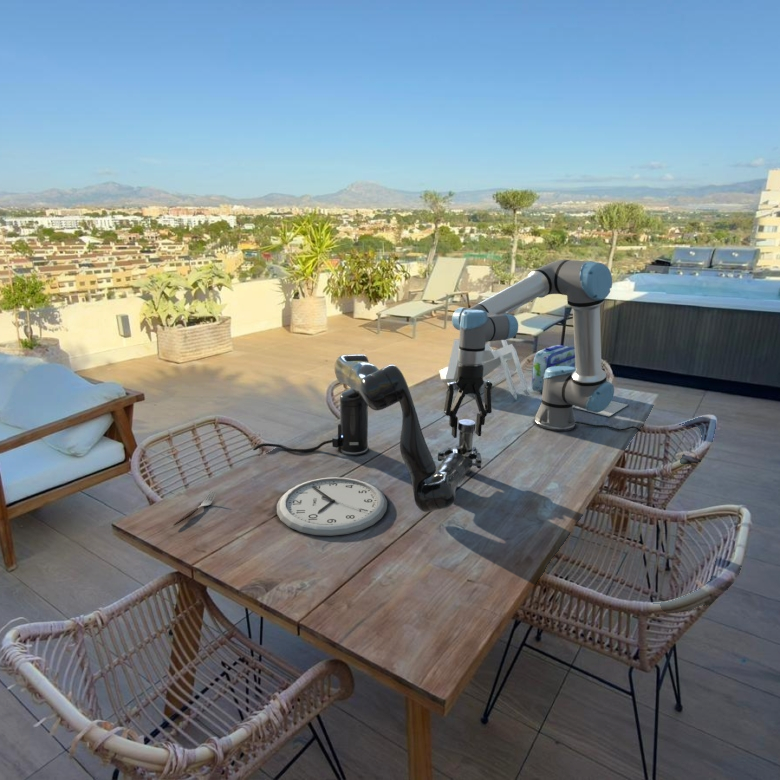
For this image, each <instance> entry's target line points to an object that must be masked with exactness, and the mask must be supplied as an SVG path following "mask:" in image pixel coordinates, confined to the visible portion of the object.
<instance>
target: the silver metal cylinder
mask: <svg viewBox="0 0 780 780" xmlns="http://www.w3.org/2000/svg"><path fill="white" fill-rule="evenodd" d="M473 440H474V431H473V432H462V431H460V430H459V435H458V445H459V450H458V453H459V454H465V453H467V452H471V450H472V449H473V442H474V441H473ZM471 469H472V467H471V468H469V469H468V471H467V473H466V475H467V474H468V475H469V474H471Z"/></svg>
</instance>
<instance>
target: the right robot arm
mask: <svg viewBox="0 0 780 780" xmlns="http://www.w3.org/2000/svg"><path fill="white" fill-rule="evenodd" d="M612 287H613V274H612V272H611V270H610V268H609V267H608V266H607V265H606V264H604V263H602V262H598V261H597V262H596V261H593V260H574V259H559V260H556V261H552V262H550V263H547V264H545V265H543V266H540V267H538V268H536V269H534V270H533V271H531V272H529V273H528V275H527V277H525V278H523V279H522V280H519V281H517V282H516V283H515V284H512V285H511V286H509V287H507V288H505V289H503V290H501V291H499V292H498V293H496V294H494V295H492V296H490V297H487V298H486V299H484V300H482V301H480V302H479V303H477V304H475V305H472V306H470V307H469V308H468V307H465V306H464V307H458V308H456V310H454V312H453V314H452V316H451V323H452V327H453V328H454V329H455V330H457V331H459V357H458V361H459V362H460V363H459V364H458V373H457V379H456V382H452V383H450V382H447V385H446V388H447V391H446V395H445V402H444V407H443V413H444V414H445V415H446V417H449V420H448V421H449V422H448V425H449V426H450V427H451V436H452V437H453V438H454V439H457V438H458V423H459V419H458V416H457V415H458V411H459V409H460V407H461V404H462V403H463V400H464V398H465V397H466V395H469V394H471V395H473V397H474V399H475V403H476V406H477V409H478V412H479V413H478V412H477V413H476V421H475V424H476V425H475V435H477V436H478V437H481V436H482V426H484V425H485V424H486V423H485V422H486V417H487V415H488V414H492V412H493V411H492V387H493V382H491V381H490V380H488V379H487V380H484V377H483V368H484V365H483V363H484V354H485V344H487V343H488V342H494V341H495V342H496V341H501V340H509V339H512V338H514V337H516V336H517V334H518V332H519V321H518V319H517V317H516V316H514V315H513V314H510V313H511V312H513V311H515V310H517V309H519V308H521V307H522V306H524V305H526V304H528V303H530V302H532V301H534V300H535V299H537V298H539V299H540V298H541V299H542V298H545V297H547V296H549V295H562V296H566V299H567V306H568V307H570V308H571V309H572V323H573V324H572V325H573V340H574V341H573V342H574V344H573V345H574V348H575V367H570V366H555V367H549V368H547V369H546V370H545V375H544V378H543V379H544V380H543V391H542V392H541V402H540V405H539V407H538V410H537V411H536V413H535V417H534V424H535V425H536V426H537V427H539V428H542V429H544V430H549V431H556V432H567V431H572V430H574V429H575V428H576V424H578V425H584V426H589V427H595V428H607V429H611V430H614V431H619V432H622V431H628V430H631V429H632V430H633V429H636V430H637V431H641V429H640V428H639V427H637V426H634V425H632V426H628V427H624V428H617V427H614V426H611V425H607V424H593V423H588V422H582V421H576V418H575V417H576V416H575V413H574V407H576V406H577V407H580V408H583V409H586V410H587V411H586V412H588V411H592V412H601V411H603V410H604V409H605V408H606V407H607V406H608V405H609V404H610V402H611V401H613V398H614V396H615V386H614V384H613V383H611V381H608V379H607V377H608V376H607V372H606V371H605V370H604V369H602V368H603V367H602V364H603V363H602V335H601V334H602V331H601V306H602V305H603V304H604V303H605V299H606V298H608V296H609V294H610V293H611V289H612ZM456 387H457V388H458V390H457V392H456V397H455V398H454V393H455V390H456ZM482 387H483V395H484V396H483V397H484V403H483V399H482V396H481V391H480V389H481V388H482ZM453 400H454V401H453ZM573 406H574V407H573ZM592 412H591V413H592Z"/></svg>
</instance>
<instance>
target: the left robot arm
mask: <svg viewBox="0 0 780 780" xmlns="http://www.w3.org/2000/svg"><path fill="white" fill-rule="evenodd" d="M333 369H334V375H335V378H336V380H337V381H338V382H339V384H342V385H346V386H347V387H349V388H348V389H347V390H344V391H342V392H341V393H340V395H339V423H338V424H337V434H336V435H335V436H333V437H332V439H327V440H325V441H322V442H320V443H319V444H318V445H316V446H314V447H310V448H291V447H289V446H285V445H283V444H279V443H269V442H268V443H267V442H266V443H260V444H258V445H256V446H255V447H254V448H253V449H252V451H257V450H258V449H260V448H262V447H263V448H264V447H272V448H280V449H283V450H285V451H289V452H295V453H308V452H313V451H316V450H319V449H320V448H321V447H323V446H324V445H327V444H331V445H332V446H331V447H332V448H336V449H337V451H338V452H341V453H342V454H344V455H347V456H360V455H365V454H366V453H367V452H368V451H369V441H368V439H369V438H368V437H369V416H368V415H369V408H370V409H372V410H374V411H375V412H376V411H377V412H378V411H382V410H384V409H386V408H389V407H391V406H393V405H395V404H396V403H399V405H400V408H401V417H402V421H401V431H400V439H399V451H400V455H401V458H402V460H403V463H404V465H405V467H406V469H407V471H408V473H409V476H410V480H411V485H412V486H411V487H412V492H413V500H414V503H415V505H416V507H417V508H418V509H419V510H420V511H422V512H423V513H430V512H434V511H439V510H440V511H441V510H445V509H449V508H450V507H452V506H453V505H454V504H455V502H456V493H457V491H456V490H457V488H458V486H459V485H460V483H462V481H463V480H464V479H465V477H466V475H467V474H466V473H467V471H468V469H469V468H471V469H472V467H473V466H474V467H476V469H478V470H479V469H482V461H483V459H482V456H481V453H480V452H478V448H477V447H476V446H472V450H471V452H467V453H465V454H459V453H458V450H459V444H457V445H455V447H453V448H451V447H446V448H444V449H442V450H441V451H438V452H437V461H438V462H441V463H440V464H439V466H438V467H437V465H436V462H435V460H434V458H433V456H432V453H431V451H430V449H429V447H428V444H427V442H426V440H425V437H424V434H423V431H422V428H421V424H420V420H419V417H418V414H417V410H416V406H415V404H414V401H413V398H412V394H411V391H410V387H409V385H408V382H407V380H406V378H405V376H404V374H403V372H402V371H401V369H400V368H399V367H398V366H397V365H394V364H389V365H387V366H384V367H381V368H380V369H379V367H377V366H376V365H374V364H373V363H371V362H369V358H368V356H367V355H366V354H343V355H340V356H338V357H337V358H336V359H335V362H334V368H333ZM429 478H431V479H430V483H427V482H426V480H428V479H429Z"/></svg>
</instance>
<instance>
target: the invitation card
mask: <svg viewBox="0 0 780 780" xmlns="http://www.w3.org/2000/svg"><path fill="white" fill-rule="evenodd" d="M628 406H629V404H627V403H623V402H618V401H614V400H611V402H610V404H609V405H608V406H607V407H606V408H605V409H604V410H603V411H601V412H592V411H587V410H586V409H583V408H580V407H577V406H574V407H573V409H575V410H581V411H584V412H587V413H593V414H596V415H600V416H604V417H608V418H609V417H611V416H613V415H614V414H616V413H617V412H619V411H621V410H623V409H624V408H626V407H628Z"/></svg>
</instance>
